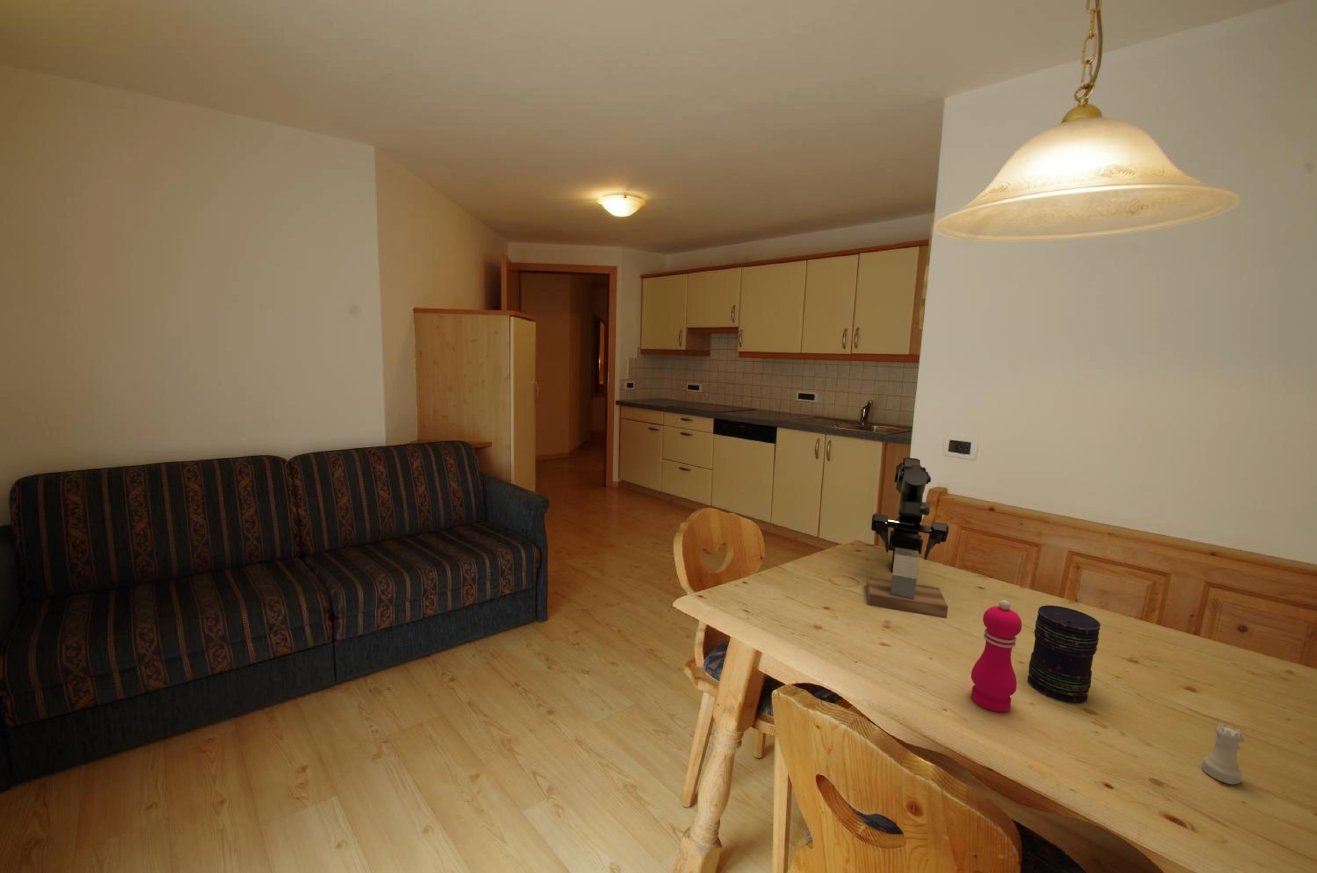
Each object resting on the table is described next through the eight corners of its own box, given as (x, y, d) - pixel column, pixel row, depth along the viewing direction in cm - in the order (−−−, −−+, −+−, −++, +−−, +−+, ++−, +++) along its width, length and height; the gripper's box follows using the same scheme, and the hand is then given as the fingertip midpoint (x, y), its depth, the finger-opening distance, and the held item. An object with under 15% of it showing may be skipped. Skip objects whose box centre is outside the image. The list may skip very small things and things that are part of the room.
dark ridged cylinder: (1027, 668, 115) (1038, 600, 112) (1086, 686, 109) (1099, 615, 107) (1025, 690, 107) (1037, 618, 104) (1089, 711, 101) (1103, 635, 99)
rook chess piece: (1209, 780, 85) (1220, 733, 84) (1194, 761, 89) (1203, 716, 88) (1247, 789, 83) (1258, 742, 82) (1229, 769, 88) (1240, 723, 86)
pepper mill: (960, 689, 106) (974, 590, 103) (998, 691, 106) (1013, 593, 103) (981, 713, 99) (996, 608, 96) (1022, 715, 99) (1038, 610, 96)
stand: (866, 587, 152) (867, 577, 152) (937, 598, 147) (938, 587, 147) (868, 605, 141) (870, 594, 140) (946, 618, 136) (948, 606, 135)
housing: (890, 587, 146) (895, 547, 144) (913, 591, 143) (918, 551, 142) (890, 595, 140) (895, 553, 139) (914, 599, 138) (919, 558, 137)
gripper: (875, 484, 150) (869, 534, 142) (952, 494, 143) (950, 548, 135) (874, 505, 159) (868, 554, 151) (946, 516, 151) (944, 567, 143)
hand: (906, 555), depth 145 cm, fingers open, 9 cm apart
